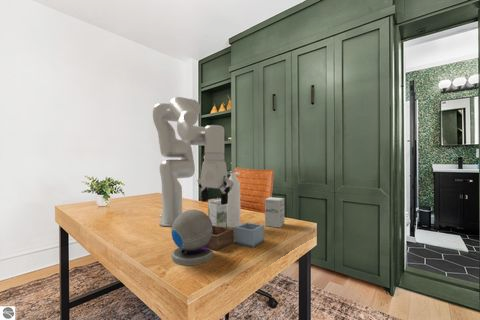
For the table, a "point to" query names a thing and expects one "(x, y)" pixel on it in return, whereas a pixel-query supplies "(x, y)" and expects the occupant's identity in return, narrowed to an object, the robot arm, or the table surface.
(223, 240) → the walnut box
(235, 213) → the water bottle
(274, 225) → the supplement box
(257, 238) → the blue-grey open box
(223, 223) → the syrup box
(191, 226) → the webcam
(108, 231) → the table surface
